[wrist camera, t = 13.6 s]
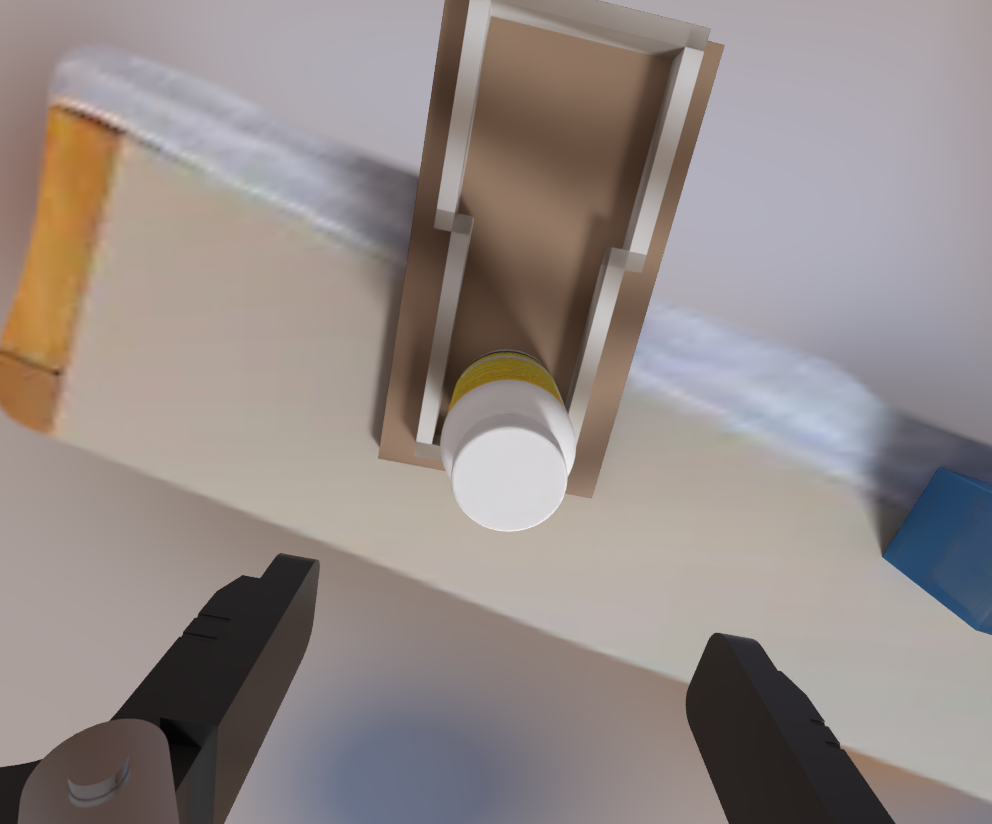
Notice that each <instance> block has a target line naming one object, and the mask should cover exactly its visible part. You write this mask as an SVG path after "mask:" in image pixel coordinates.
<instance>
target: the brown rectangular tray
mask: <svg viewBox="0 0 992 824" xmlns="http://www.w3.org/2000/svg"><path fill="white" fill-rule="evenodd" d="M710 30H711V29H710V28H706V27H702V26H698V25H694V24H690V23H686V22H682V21H678V20H674V19H670V18H666V17H662V16H658V15H654V14H650V13H646V12H642V11H638V10H634V9H630V8H627V7H622V6H618V5H614V4H611V3H607V2H603V1H599V0H445V4H444V11H443V18H442V24H441V31H440V39H439V45H438V52H437V59H436V65H435V72H434V80H433V86H432V93H431V100H430V107H429V114H428V120H427V127H426V134H425V141H424V148H423V155H422V162H421V168H420V175H419V182H418V189H417V196H416V202H415V209H414V216H413V223H412V230H411V237H410V244H409V250H408V257H407V264H406V271H405V278H404V285H403V292H402V298H401V305H400V312H399V319H398V326H397V333H396V340H395V346H394V353H393V360H392V367H391V374H390V381H389V388H388V394H387V401H386V408H385V415H384V422H383V429H382V436H381V442H380V449H379V456H378V458H379V459H384V460H390V461H395V462H400V463H406V464H411V465H416V466H422V467H427V468H432V469H438V470H443V471H445V468H444V466H443V463H442V458H441V451H440V441H441V434H442V429H443V424H444V420H445V418H446V415H447V411H448V408H449V405H450V402H451V398H452V395H453V392H454V389H455V385H456V383H457V381H458V379H459V377H460V375H461V374H462V372H463V371H464V369H465V368H466V367H467V366H468V365H469V364H470V363H471V362H472V361H474V360H475V359H476V358H478V357H480V356H482V355H484V354H486V353H488V352H492V351H496V350H504V349H507V350H516V351H521V352H524V353H527V354H529V355H531V356H533V357H534V358H536V359H537V360H538V361H540V362H541V363H542V364H543V365H544V366H545V367H546V368H547V370H548V371H549V372H550V374H551V375H552V377H553V379H554V381H555V384H556V386H557V388H558V391H559V393H560V396H561V398H562V401H563V403H564V406H565V408H566V411H567V413H568V415H569V418H570V420H571V422H572V425H573V429H574V433H575V438H576V454H575V460H574V463H573V466H572V469H571V471H570V474H569V475H568V479H567V487H566V491H565V493H566V494H571V495H576V496H582V497H587V498H592V496H593V492H594V489H595V486H596V482H597V479H598V475H599V472H600V468H601V465H602V462H603V458H604V455H605V451H606V448H607V445H608V441H609V438H610V434H611V431H612V428H613V424H614V421H615V417H616V414H617V410H618V407H619V404H620V400H621V397H622V393H623V390H624V387H625V383H626V380H627V376H628V373H629V370H630V366H631V363H632V359H633V356H634V352H635V349H636V346H637V342H638V339H639V335H640V332H641V329H642V325H643V322H644V318H645V315H646V312H647V308H648V305H649V301H650V298H651V294H652V291H653V287H654V284H655V281H656V277H657V274H658V271H659V267H660V263H661V260H662V257H663V254H664V250H665V247H666V243H667V240H668V236H669V233H670V230H671V226H672V223H673V219H674V216H675V212H676V209H677V206H678V202H679V199H680V195H681V192H682V189H683V185H684V182H685V178H686V175H687V172H688V168H689V164H690V161H691V157H692V155H693V151H694V147H695V144H696V141H697V138H698V134H699V131H700V127H701V124H702V120H703V117H704V114H705V110H706V107H707V103H708V100H709V97H710V93H711V89H712V86H713V83H714V79H715V76H716V72H717V69H718V66H719V62H720V59H721V56H722V52H723V49H724V45H722V44H718V43H714V42H710V41H707V40H708V37H709V33H710Z"/></svg>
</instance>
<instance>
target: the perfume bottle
mask: <svg viewBox="0 0 992 824" xmlns="http://www.w3.org/2000/svg"><path fill="white" fill-rule="evenodd" d="M882 557H883V558H884V559H885V560H887V561H888V562H889V563H891V564H892V565H893V566H894V567H896V568H897V569H898V570H899V571H901V572H902V573H903V574H905V575H906V576H907V577H908V578H910V579H911V580H912V581H914V582H915V583H916V584H917V585H919V586H920V587H921V588H922V589H924V590H925V591H926V592H928V593H929V594H930V595H931V596H933V597H934V598H935V599H937V600H938V601H939V602H940V603H942V604H943V605H944V606H945V607H947V608H948V609H949V610H951V611H952V612H953V613H954V614H956V615H957V616H958V617H960V618H961V619H962V620H963V621H965V622H966V623H967V624H968V625H970V626H971V627H972V628H974V629H975V630H977V631H980V632H984V633H987V634H990V635H992V484H989V483H986V482H983V481H980V480H977V479H974V478H971V477H968V476H965V475H962V474H958V473H955V472H952V471H949V470H946V469H943V468H940V467H939V469H938V470H937V472H936V473H935V475H934V476H933V478H932V480H931V481H930V483H929V484H928V486H927V487H926V489H925V491H924V492H923V494H922V495H921V497H920V498H919V500H918V501H917V503H916V505H915V506H914V508H913V509H912V511H911V512H910V514H909V516H908V517H907V519H906V520H905V522H904V523H903V525H902V526H901V528H900V530H899V531H898V533H897V534H896V536H895V537H894V539H893V541H892V542H891V544H890V545H889V547H888V548H887V550H886V551H885V553H884V555H883V556H882Z"/></svg>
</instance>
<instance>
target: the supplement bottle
mask: <svg viewBox="0 0 992 824" xmlns="http://www.w3.org/2000/svg"><path fill="white" fill-rule="evenodd" d="M440 451H441V458H442V463H443V466H444V468H445V471H446V473H447V475H448V477H449V479H450V480H451V485H452V490H453V494H454V496H455V499H456V501H457V503H458V504H459V506H460V508H461V509H462V510H463V511H464V513H465V514H466V515H467V516H468V517H470V518H471V519H472V520H474V521H475V522H477V523H479V524H480V525H482V526H484V527H487V528H490V529H493V530H498V531H519V530H524V529H527V528H530V527H533V526H535V525H537V524H539V523H541V522H543V521H544V520H546V519H547V518H548V517H549V516H550V515H551V514H552V513H553V512H554V511H555V510H556V509H557V507H558V506H559V505H560V503H561V501H562V499H563V497H564V494H565V491H566V487H567V479H568V475H569V474H570V471H571V469H572V466H573V463H574V460H575V454H576V438H575V433H574V429H573V425H572V422H571V420H570V418H569V415H568V413H567V411H566V408H565V406H564V403H563V401H562V398H561V396H560V393H559V391H558V388H557V386H556V384H555V381H554V379H553V377H552V375H551V374H550V372H549V371H548V370H547V368H546V367H545V366H544V365H543V364H542V363H541V362H540V361H538V360H537V359H536V358H534V357H533V356H531V355H529V354H527V353H524V352H521V351H516V350H507V349H504V350H496V351H492V352H488V353H486V354H484V355H482V356H480V357H478V358H476V359H475V360H474V361H472V362H471V363H470V364H469V365H468V366H467V367H466V368H465V369H464V371H463V372H462V374H461V375H460V377H459V379H458V381H457V383H456V385H455V389H454V392H453V395H452V398H451V402H450V405H449V408H448V411H447V415H446V418H445V420H444V424H443V429H442V434H441V441H440Z"/></svg>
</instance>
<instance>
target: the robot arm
mask: <svg viewBox="0 0 992 824" xmlns="http://www.w3.org/2000/svg"><path fill="white" fill-rule="evenodd" d="M319 569H320V563H319V560H316V559H309V558H304V557H299V556H293V555H287V554H282V553H280V554H278V555H277V556H276V557H275V559H274V560H273V561H272V563H271V564H270V565H269V567H268V568H267V570H266V571H265V572H264V574H263V575H262V577H261V578H255V577H249V576H244V575H242V576H241V577H239V578H238V579H236V580H234V581H233V582H231V583H229V584H228V585H226V586H225V587H223V588H221V589H220V590H218V591H217V592H216V593H215V594H214V595H213V596H212V598H211V599H210V600H209V601H208V603H207V604H206V605H205V606H204V607H203V609H202V610H201V611H200V612H199V614H198V617H197V618H194V620H193V621H192V622H191V623H190V625H189V626H188V627H187V628H186V629H185V630H184V632H183V635H182V637H179V638H178V639H177V640H176V641H175V643H174V644H173V645H172V646H171V648H170V649H169V650H168V651H167V653H166V654H165V655H164V656H163V657H162V658H161V660H160V661H159V662H158V663H157V665H156V666H155V667H154V668H153V669H152V671H151V672H150V673H149V675H148V676H147V677H146V678H145V679H144V680H143V682H142V683H141V684H140V685H139V686H138V688H137V689H136V690H135V691H134V693H133V694H132V695H131V696H130V698H129V699H128V700H127V701H126V702H125V703H124V705H123V706H122V707H121V708H120V710H119V711H118V712H117V713H116V714H115V715H114V716H113V717H112V719H111V720H110V721H108V722H104V723H101V724H97V725H95V726H92V727H89V728H87V729H85V730H83V731H81V732H79V733H77V734H75V735H74V736H72V737H70V738H69V739H67V740H65V741H64V742H62V743H61V744H60V745H58V746H57V747H56V748H54V749H53V750H52V751H51V752H50V753H49V754H48V755H47V756H46V757H44V759H41V760H38V761H34V762H30V763H25V764H20V765H14V766H6V767H0V824H224V822H225V820H226V818H227V816H228V814H229V812H230V810H231V808H232V806H233V803H234V802H235V799H236V797H237V795H238V793H239V791H240V789H241V787H242V785H243V783H244V781H245V778H246V776H247V774H248V772H249V770H250V768H251V766H252V764H253V762H254V760H255V757H256V755H257V753H258V751H259V749H260V747H261V745H262V743H263V741H264V739H265V736H266V734H267V732H268V730H269V728H270V726H271V724H272V722H273V720H274V718H275V716H276V713H277V711H278V709H279V707H280V705H281V703H282V701H283V699H284V697H285V695H286V692H287V690H288V688H289V686H290V684H291V682H292V680H293V678H294V676H295V673H296V671H297V669H298V667H299V665H300V663H301V661H302V659H303V656H304V654H305V651H306V649H307V646H308V643H309V639H310V635H311V632H312V626H313V620H314V612H315V603H316V595H317V586H318V578H319ZM686 714H687V719H688V723H689V726H690V728H691V731H692V733H693V735H694V738H695V741H696V743H697V745H698V748H699V751H700V753H701V755H702V758H703V760H704V763H705V765H706V768H707V770H708V773H709V775H710V778H711V780H712V783H713V785H714V788H715V790H716V793H717V795H718V798H719V800H720V803H721V805H722V808H723V810H724V813H725V815H726V818H727V820H728V822H729V824H895V822H894V821H893V820H892V818H891V817H890V815H889V814H888V812H887V811H886V809H885V808H884V807H883V805H882V804H881V802H880V801H879V799H878V798H877V797H876V795H875V794H874V792H873V791H872V789H871V788H870V786H869V785H868V784H867V782H866V781H865V779H864V778H863V776H862V775H861V773H860V772H859V770H858V769H857V768H856V766H855V765H854V763H853V762H852V761H851V759H850V757H849V756H848V755H847V753H846V752H845V750H844V749H841V748H840V743H839V742H838V740H837V739H836V737H835V736H834V734H833V733H832V731H831V730H830V729H829V727H827V726H825V725H824V722H825V721H824V720H823V718H822V717H821V716H820V714H819V713H818V711H817V710H816V708H815V707H814V705H813V704H812V703H811V701H810V700H809V698H808V697H807V695H806V694H805V693H804V692H803V691H802V690H800V689H799V688H798V687H797V686H796V685H795V684H794V683H793V682H792V681H791V680H790V679H789V678H788V677H787V676H786V675H785V674H784V673H783V672H781V671H778V670H777V669H776V667H775V666H774V664H773V663H772V661H771V660H770V658H769V657H768V655H767V654H766V652H765V651H764V649H763V648H762V646H761V645H760V644H759V643H758V642H757V641H756V640H754V639H750V638H744V637H739V636H733V635H728V634H722V633H715V634H713V635H712V636H711V637H710V638H709V640H708V643H707V645H706V647H705V650H704V652H703V654H702V657H701V659H700V661H699V664H698V666H697V669H696V671H695V673H694V676H693V678H692V680H691V683H690V685H689V687H688V690H687V696H686Z"/></svg>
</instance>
